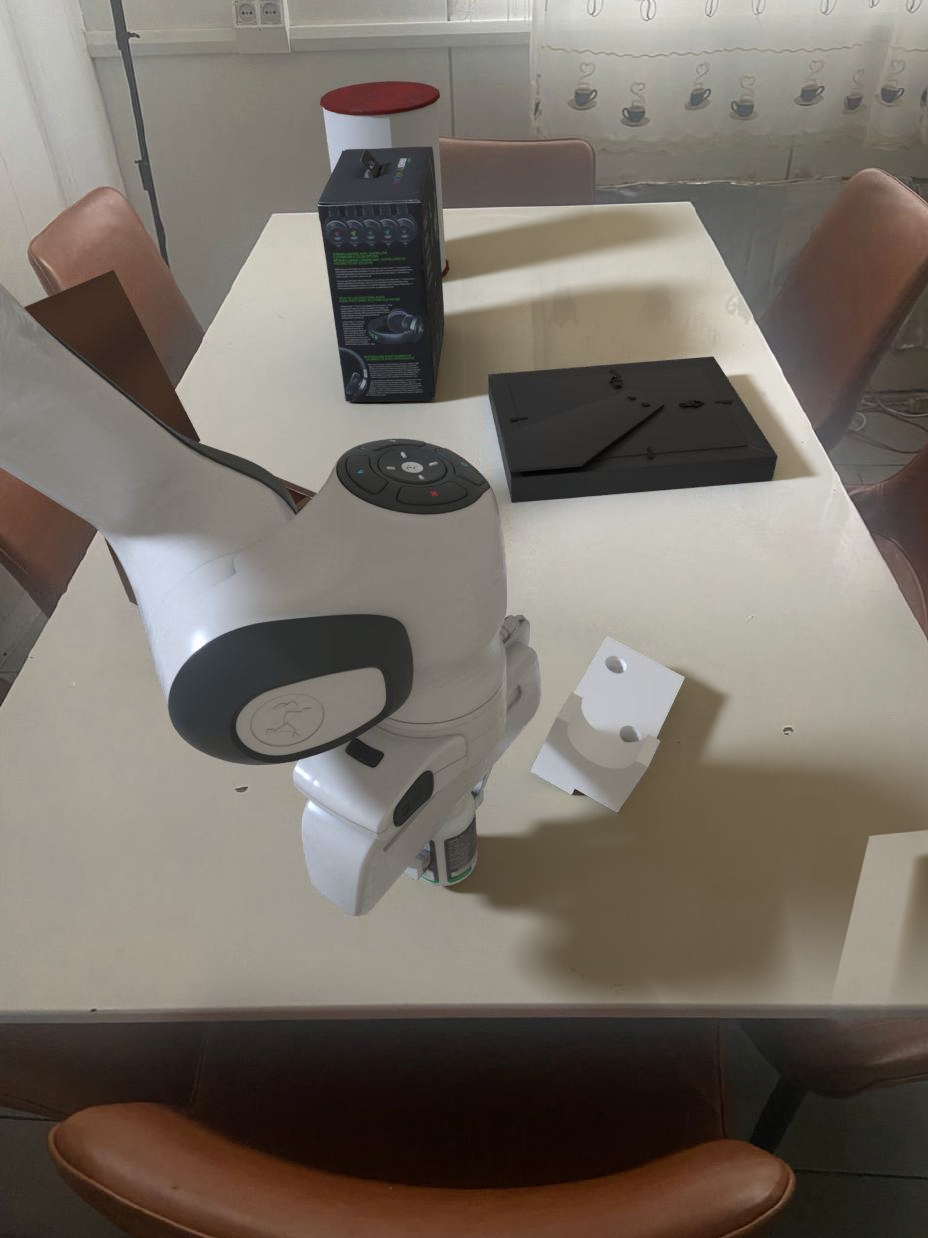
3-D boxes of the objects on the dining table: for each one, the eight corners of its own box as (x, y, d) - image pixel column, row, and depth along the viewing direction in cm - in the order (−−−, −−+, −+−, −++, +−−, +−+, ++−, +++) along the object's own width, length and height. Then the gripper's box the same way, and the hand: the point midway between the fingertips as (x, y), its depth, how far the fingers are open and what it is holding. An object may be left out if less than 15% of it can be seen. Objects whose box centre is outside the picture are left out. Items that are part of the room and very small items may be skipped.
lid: (113, 268, 77) (109, 270, 78) (-15, 323, 70) (-20, 324, 71) (201, 440, 85) (196, 441, 86) (93, 505, 78) (89, 505, 78)
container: (373, 245, 152) (355, 78, 136) (466, 256, 147) (459, 83, 130) (323, 284, 141) (296, 106, 124) (421, 297, 135) (407, 113, 119)
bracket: (613, 818, 66) (648, 767, 61) (530, 771, 68) (556, 716, 62) (669, 702, 75) (704, 647, 69) (594, 661, 76) (622, 604, 70)
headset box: (363, 327, 129) (339, 129, 111) (446, 325, 128) (434, 125, 111) (342, 405, 112) (310, 187, 95) (437, 403, 112) (422, 183, 94)
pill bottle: (480, 831, 64) (478, 757, 59) (474, 890, 61) (471, 818, 55) (415, 827, 65) (407, 753, 59) (406, 885, 61) (396, 813, 56)
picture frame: (511, 502, 95) (772, 480, 96) (511, 469, 92) (780, 446, 93) (488, 396, 112) (710, 378, 113) (487, 365, 109) (715, 347, 110)
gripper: (486, 583, 59) (488, 721, 68) (269, 792, 47) (307, 924, 56) (568, 618, 56) (559, 757, 66) (360, 850, 44) (385, 979, 54)
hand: (441, 836), depth 61 cm, fingers closed on pill bottle, 5 cm apart
